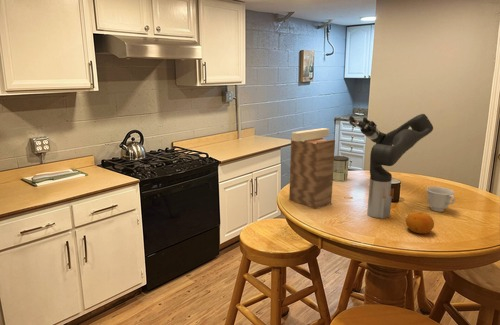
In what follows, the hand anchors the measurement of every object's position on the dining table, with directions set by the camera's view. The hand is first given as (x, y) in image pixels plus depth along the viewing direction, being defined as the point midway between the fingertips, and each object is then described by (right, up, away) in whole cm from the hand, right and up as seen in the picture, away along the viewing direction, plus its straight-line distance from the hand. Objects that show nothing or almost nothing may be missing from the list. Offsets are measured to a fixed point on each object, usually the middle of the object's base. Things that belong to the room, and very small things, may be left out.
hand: (356, 118), depth 195 cm
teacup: (+34, -48, -22) cm, 62 cm away
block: (-27, -12, -12) cm, 32 cm away
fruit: (+13, -53, -44) cm, 70 cm away
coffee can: (-2, -35, +30) cm, 46 cm away
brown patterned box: (-27, -44, -9) cm, 53 cm away
